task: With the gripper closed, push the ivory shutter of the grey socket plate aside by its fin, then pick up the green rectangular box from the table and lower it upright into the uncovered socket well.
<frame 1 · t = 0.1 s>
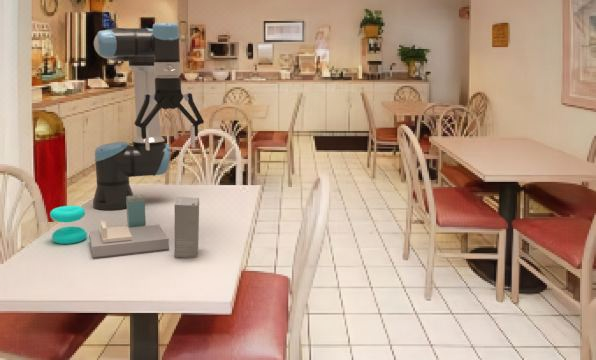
hand: (170, 148, 187), 28 cm above the table, fingers open, 13 cm apart
donuts: (69, 240, 190), on the table
shutter: (115, 229, 181), point 6 cm above the table, slide at 0.0 cm
skincare box: (187, 254, 177), on the table
green rectangular box: (137, 234, 196), on the table
socket plate: (128, 246, 184), on the table
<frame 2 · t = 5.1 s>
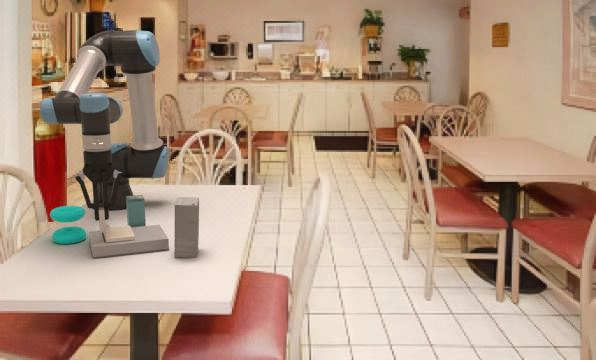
hand: (102, 230, 177), 6 cm above the table, fingers closed
shutter: (118, 228, 182), point 6 cm above the table, slide at 0.8 cm, touching gripper
everything else where it was.
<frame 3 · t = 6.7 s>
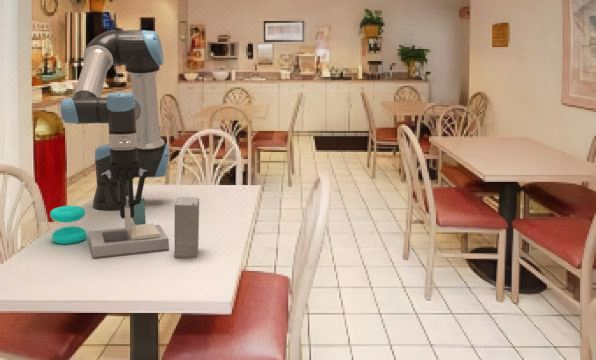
hand: (128, 228, 180), 6 cm above the table, fingers closed
shutter: (142, 226, 184), point 6 cm above the table, slide at 7.9 cm, touching gripper
everything else where it was.
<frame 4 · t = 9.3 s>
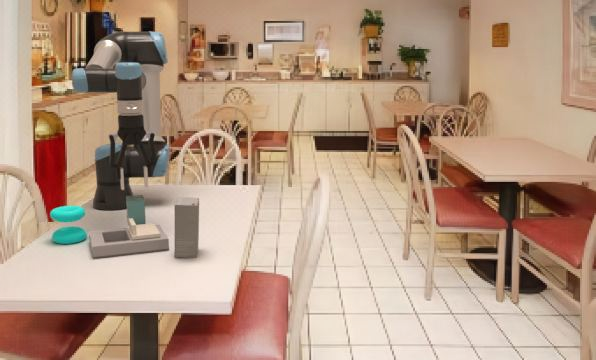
hand: (134, 187, 193), 15 cm above the table, fingers open, 7 cm apart
shutter: (143, 226, 184), point 6 cm above the table, slide at 8.0 cm
everything else where it was.
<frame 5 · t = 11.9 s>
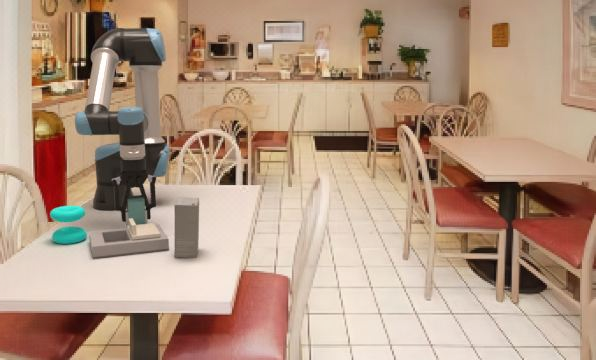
hand: (136, 230, 196), 1 cm above the table, fingers closed on green rectangular box, 5 cm apart
green rectangular box: (137, 234, 196), on the table, touching gripper
everything else where it was.
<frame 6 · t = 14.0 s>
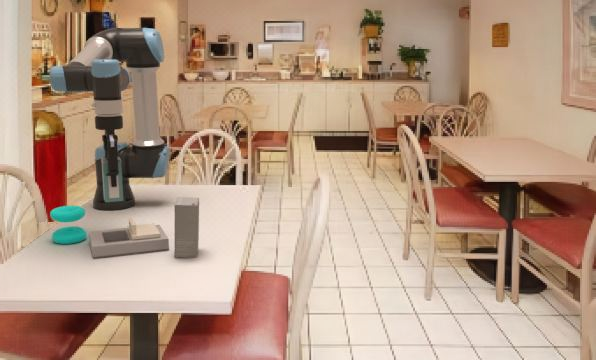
hand: (113, 195, 179), 16 cm above the table, fingers closed on green rectangular box, 5 cm apart
green rectangular box: (113, 199, 179), point 15 cm above the table, touching gripper
everything else where it was.
when the fingers open (3 cm above the table, at t = 16.2 s): green rectangular box drops 1 cm, resting on socket plate.
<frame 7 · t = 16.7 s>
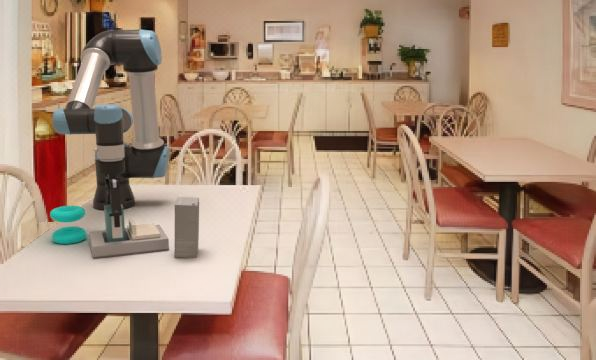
hand: (115, 231, 181), 5 cm above the table, fingers open, 12 cm apart
green rectangular box: (116, 246, 182), resting on socket plate
everything else where it was.
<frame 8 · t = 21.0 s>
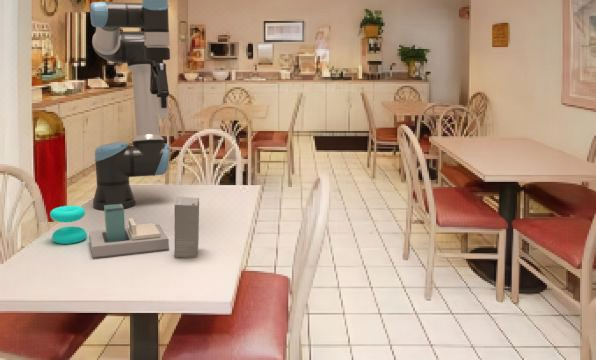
hand: (160, 116, 193), 37 cm above the table, fingers open, 13 cm apart
nothing on the table moved.
at the end: green rectangular box inside the target area on the socket plate (0.0 cm from its centre), point 0.5 cm above the socket plate's base; green rectangular box tilted 0°; shutter slide at 8.0 cm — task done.
